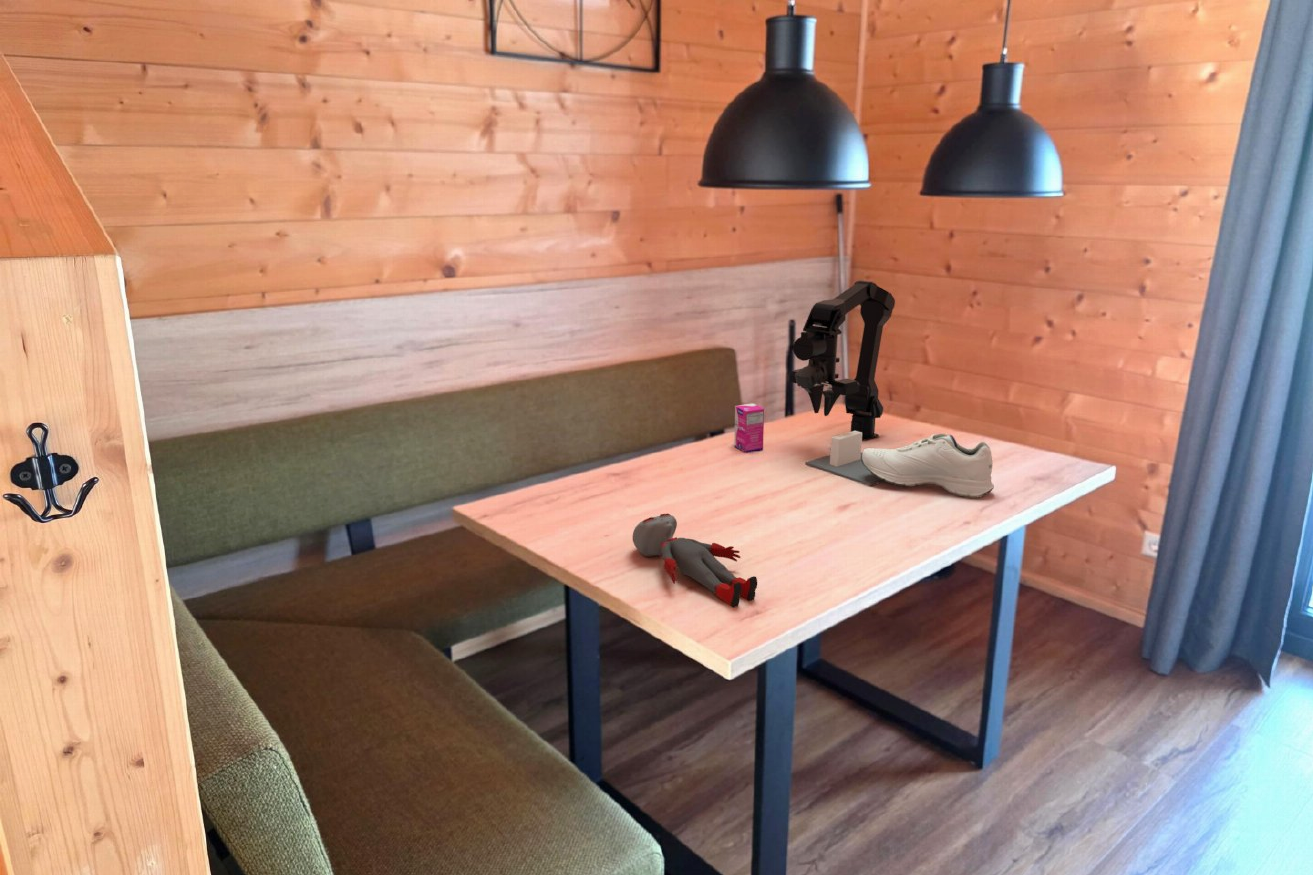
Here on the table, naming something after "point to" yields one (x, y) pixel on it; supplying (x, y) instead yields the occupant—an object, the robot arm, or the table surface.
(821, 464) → the charcoal mat
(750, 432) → the supplement box
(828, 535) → the table surface
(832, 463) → the cream rectangular block
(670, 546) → the toy
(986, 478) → the running shoe
